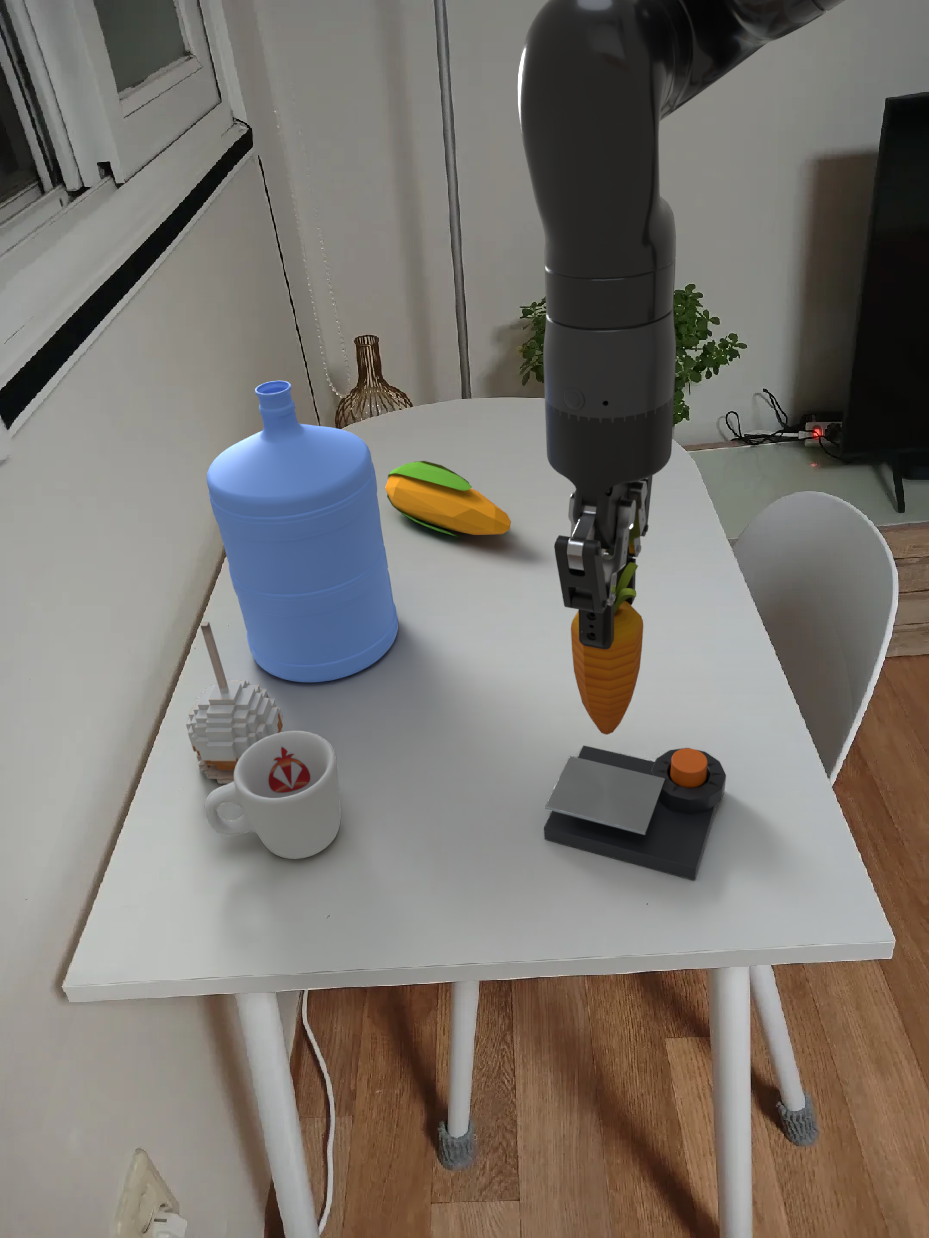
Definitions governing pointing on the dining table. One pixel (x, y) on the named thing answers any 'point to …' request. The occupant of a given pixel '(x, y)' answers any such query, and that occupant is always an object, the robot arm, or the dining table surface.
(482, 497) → the corn
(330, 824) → the cup
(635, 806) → the plate
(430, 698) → the dining table surface
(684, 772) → the button
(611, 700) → the carrot
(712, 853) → the dining table surface
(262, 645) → the water jug
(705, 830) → the scale
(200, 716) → the caramel apple
